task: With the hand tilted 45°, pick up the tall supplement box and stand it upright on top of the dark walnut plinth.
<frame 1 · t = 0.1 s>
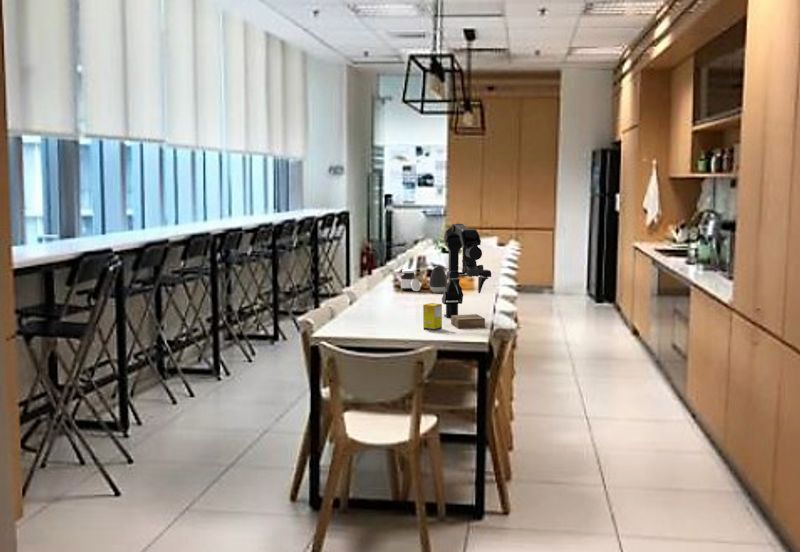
hand: (469, 293, 402), 15 cm above the table, tool pointing down, fingers open, 9 cm apart
spread jar: (410, 290, 524), on the table
supplement box: (432, 329, 399), on the table
walnut plinth: (467, 325, 406), on the table
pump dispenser: (438, 292, 515), on the table
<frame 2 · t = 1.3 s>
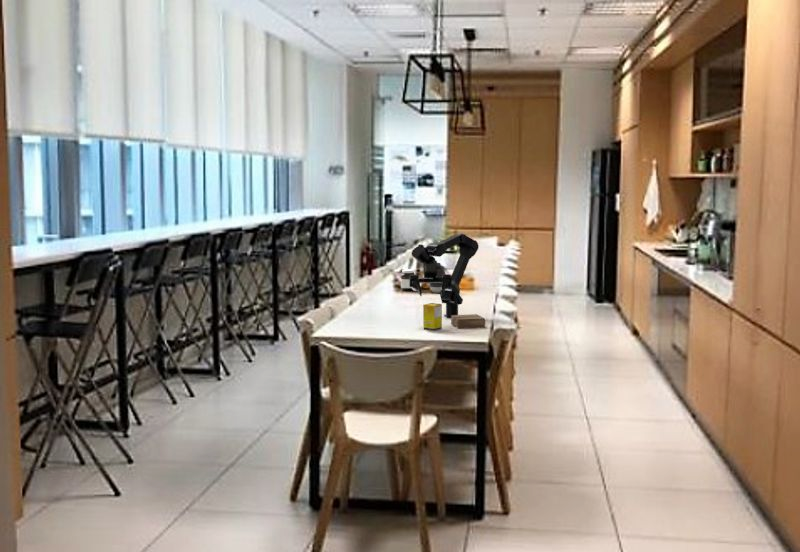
hand: (431, 295, 405), 13 cm above the table, tool tilted 45°, fingers open, 9 cm apart
nothing on the table moved.
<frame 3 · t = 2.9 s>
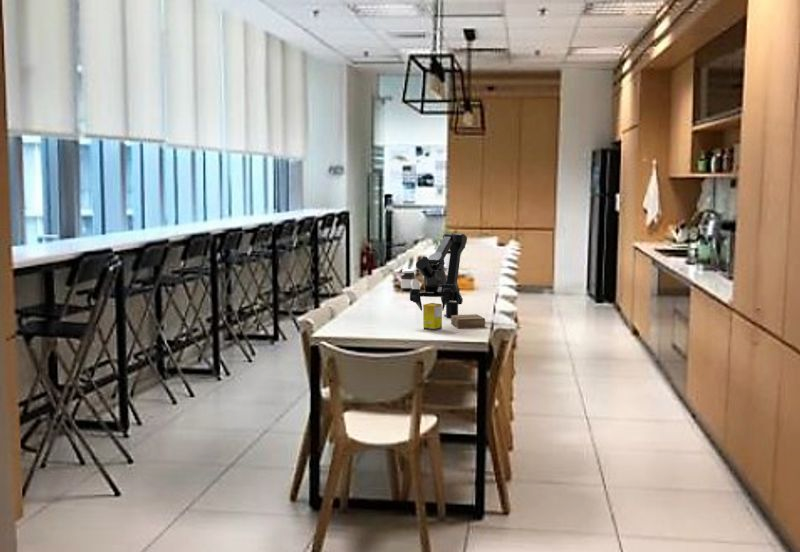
hand: (432, 310, 398), 8 cm above the table, tool tilted 45°, fingers open, 9 cm apart
nothing on the table moved.
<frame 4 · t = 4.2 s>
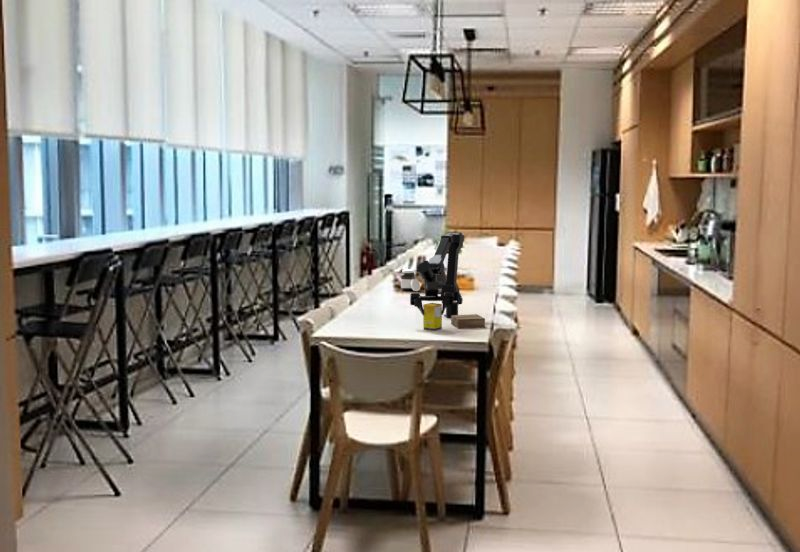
hand: (432, 314, 396), 7 cm above the table, tool tilted 45°, fingers closed on supplement box, 8 cm apart
supplement box: (432, 329, 399), on the table, touching gripper
everything else where it was.
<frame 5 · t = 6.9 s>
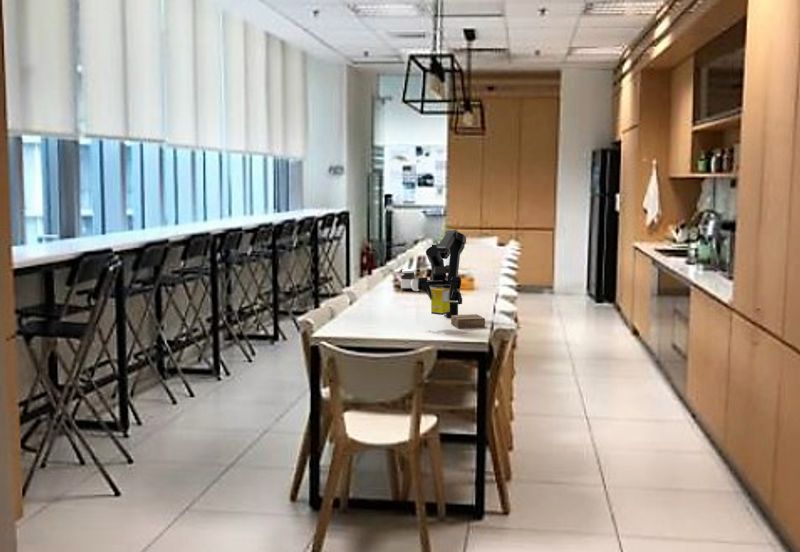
hand: (440, 298, 396), 13 cm above the table, tool tilted 45°, fingers closed on supplement box, 8 cm apart
supplement box: (440, 313, 399), point 6 cm above the table, touching gripper
everything else where it was.
when the fingers open (12 cm above the table, at t = 9.5 s): supplement box stays where it is, resting on walnut plinth.
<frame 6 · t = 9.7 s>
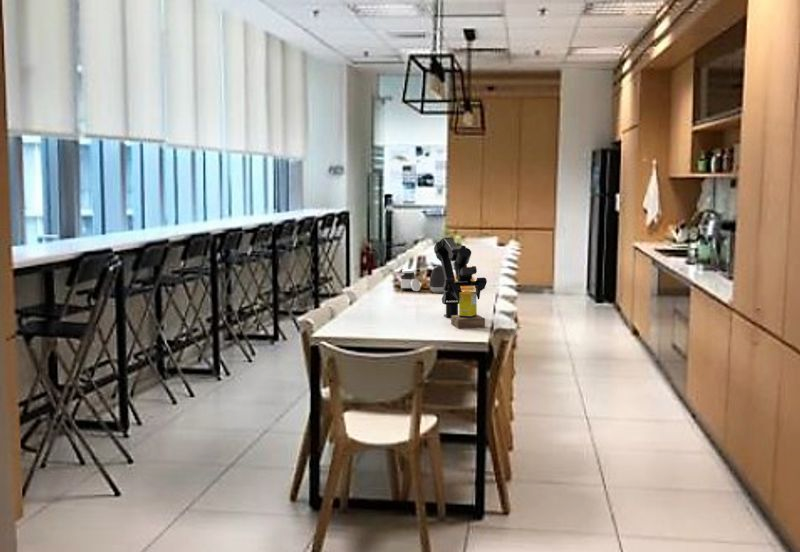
hand: (468, 299, 403), 12 cm above the table, tool tilted 45°, fingers open, 9 cm apart
supplement box: (467, 317, 406), point 4 cm above the table, touching walnut plinth
everything else where it was.
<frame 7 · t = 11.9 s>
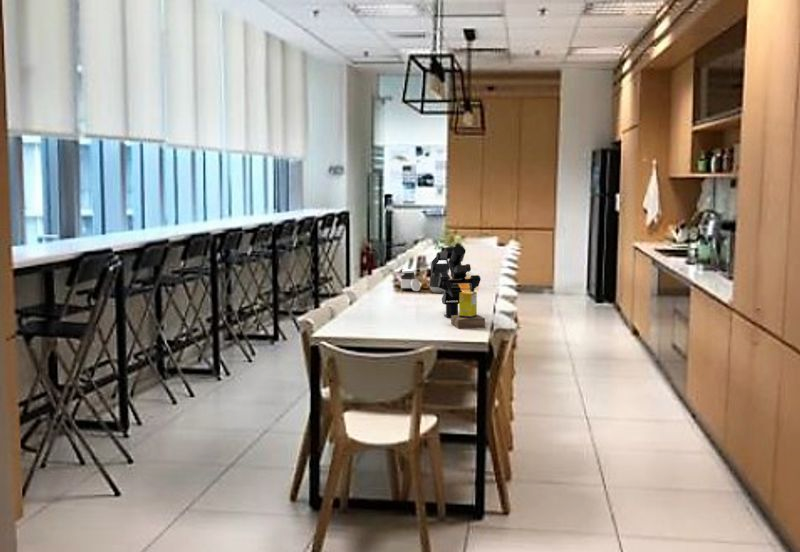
hand: (462, 296, 412), 12 cm above the table, tool tilted 45°, fingers open, 9 cm apart
nothing on the table moved.
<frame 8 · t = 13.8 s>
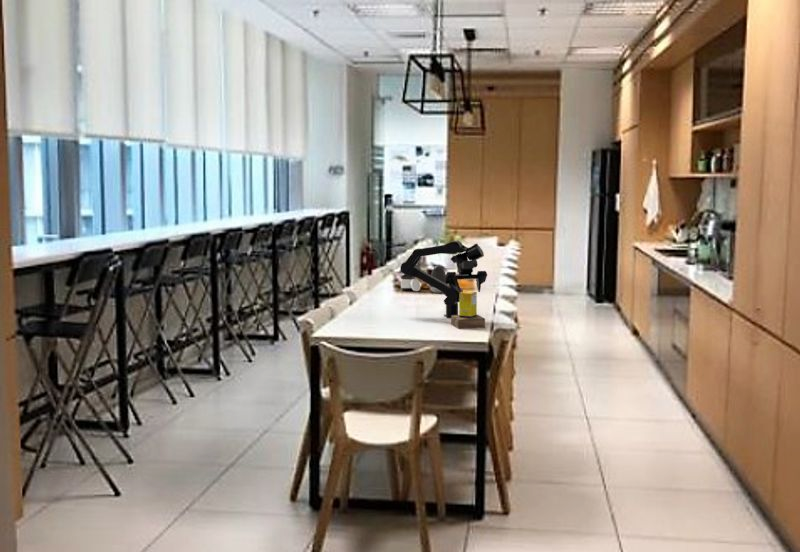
hand: (469, 291, 415), 14 cm above the table, tool tilted 45°, fingers open, 9 cm apart
nothing on the table moved.
at the end: supplement box inside the target area on the walnut plinth (0.2 cm from its centre), point 3.8 cm above the walnut plinth's base; supplement box tilted 0°; the gripper is holding nothing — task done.
